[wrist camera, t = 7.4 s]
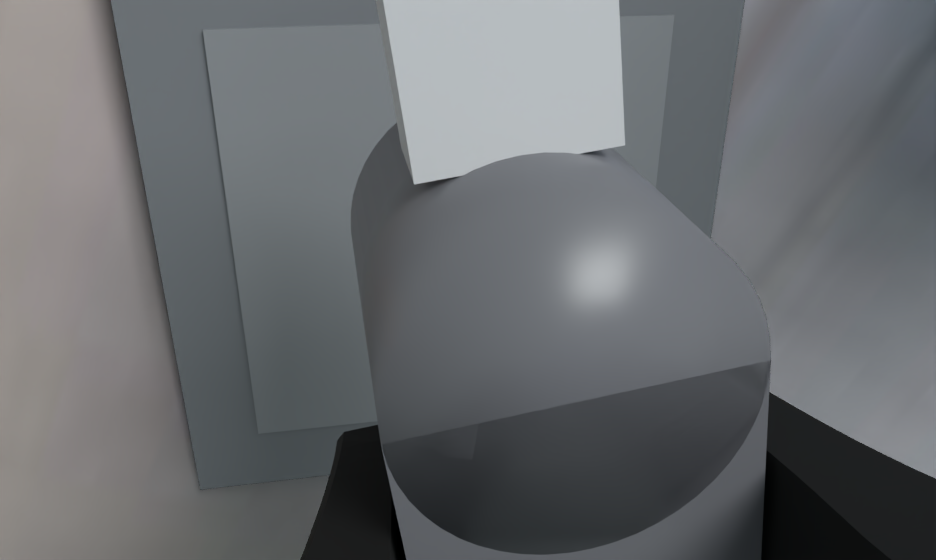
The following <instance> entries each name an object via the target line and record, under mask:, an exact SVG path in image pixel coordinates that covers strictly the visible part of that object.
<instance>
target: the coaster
mask: <svg viewBox="0 0 936 560" xmlns="http://www.w3.org/2000/svg"><path fill="white" fill-rule="evenodd" d="M744 2H745V0H619V12H620V36H621V59H622V83H623V107H624V131H625V145H624V146H619V147H613V149H614V150H615V151H616V152H618V153H619V154H620V155H621V156H622V157H623V158H624V159H625V160H626V161H627V162H628V163H629V164H630V165H632V166H633V167H634V168H635V169H636V170H637V171H638V172H639V173H640V174H641V175H642V176H643V177H644V178H645V179H647V180H648V181H649V182H650V183H651V184H652V185H653V186H654V187H655V188H656V189H657V190H658V191H659V192H661V193H662V194H663V195H664V196H665V197H666V198H667V199H668V200H669V201H670V202H671V203H672V204H673V205H674V206H676V207H677V208H678V209H679V210H680V211H681V212H682V213H683V214H684V215H685V216H686V217H687V218H688V219H690V220H691V221H692V222H693V223H694V224H695V225H696V226H697V227H698V228H699V229H700V230H701V231H702V232H703V233H705V234H706V235H707V236H708V237H709V238H710V239H711V232H712V225H713V218H714V211H715V204H716V197H717V190H718V183H719V176H720V169H721V162H722V155H723V148H724V141H725V134H726V127H727V120H728V113H729V106H730V99H731V92H732V86H733V79H734V72H735V65H736V58H737V51H738V44H739V37H740V30H741V23H742V16H743V9H744ZM111 5H112V10H113V16H114V21H115V27H116V32H117V38H118V43H119V48H120V54H121V59H122V65H123V70H124V76H125V81H126V87H127V92H128V98H129V103H130V109H131V114H132V120H133V125H134V130H135V136H136V141H137V147H138V152H139V158H140V163H141V169H142V174H143V180H144V185H145V191H146V196H147V201H148V207H149V212H150V218H151V223H152V229H153V234H154V240H155V245H156V251H157V256H158V262H159V267H160V272H161V278H162V283H163V289H164V294H165V300H166V305H167V311H168V316H169V322H170V327H171V333H172V338H173V343H174V349H175V354H176V360H177V365H178V371H179V376H180V382H181V387H182V393H183V398H184V404H185V409H186V414H187V420H188V425H189V431H190V436H191V442H192V447H193V453H194V458H195V464H196V469H197V475H198V480H199V485H200V490H203V489H212V488H221V487H229V486H238V485H247V484H255V483H264V482H273V481H281V480H290V479H299V478H308V477H316V476H325V475H330V472H331V469H332V465H333V460H334V456H335V451H336V444H337V440H338V439H339V437H340V436H341V435H342V434H343V432H346V431H350V430H355V429H360V428H364V427H369V426H374V425H378V421H377V414H376V407H375V399H374V392H373V385H372V378H371V371H370V364H369V357H368V350H367V342H366V335H365V328H364V321H363V314H362V307H361V300H360V293H359V285H358V278H357V271H356V264H355V257H354V250H353V243H352V235H351V206H352V200H353V194H354V190H355V187H356V184H357V180H358V177H359V175H360V173H361V171H362V168H363V166H364V164H365V162H366V160H367V158H368V157H369V155H370V154H371V152H372V150H373V149H374V147H375V146H376V144H377V143H378V142H379V141H380V140H381V138H382V137H383V136H384V135H385V133H386V132H387V131H388V130H389V129H390V128H391V127H392V126H393V125H395V124H396V123H397V120H396V115H395V109H394V103H393V97H392V91H391V86H390V80H389V74H388V68H387V62H386V57H385V51H384V45H383V39H382V33H381V28H380V22H379V16H378V10H377V4H376V0H111Z"/></svg>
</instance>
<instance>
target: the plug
mask: <svg viewBox="0 0 936 560" xmlns="http://www.w3.org/2000/svg"><path fill="white" fill-rule="evenodd" d="M376 4H377V10H378V16H379V22H380V28H381V33H382V39H383V45H384V51H385V57H386V62H387V68H388V74H389V80H390V86H391V91H392V97H393V103H394V109H395V115H396V120H397V123H396V124H395V125H393V126H392V127H391V128H390V129H389V130H388V131H387V132H386V133H385V135H384V136H383V137H382V138H381V140H380V141H379V142H378V143H377V144H376V146H375V147H374V149H373V150H372V152H371V154H370V155H369V157H368V158H367V160H366V162H365V164H364V166H363V168H362V171H361V173H360V175H359V177H358V180H357V184H356V187H355V190H354V194H353V200H352V206H351V235H352V243H353V250H354V257H355V264H356V271H357V278H358V285H359V293H360V300H361V307H362V314H363V321H364V328H365V335H366V342H367V350H368V357H369V364H370V371H371V378H372V385H373V392H374V399H375V407H376V414H377V421H378V428H379V435H380V442H381V447H382V452H383V456H384V461H385V465H386V470H387V474H388V479H389V483H390V488H391V492H392V497H393V501H394V506H395V510H396V515H397V519H398V524H399V528H400V533H401V537H402V542H403V546H404V551H405V555H406V560H761V551H762V531H763V510H764V489H765V469H766V448H767V427H768V407H769V386H770V365H771V351H770V335H769V330H768V324H767V319H766V316H765V313H764V310H763V307H762V304H761V302H760V299H759V297H758V295H757V293H756V291H755V289H754V288H753V286H752V284H751V282H750V280H749V279H748V277H747V276H746V275H745V274H744V273H743V271H742V270H741V269H740V268H739V266H738V265H737V264H736V263H735V261H734V260H732V259H731V258H730V257H729V256H728V255H727V254H726V253H725V252H724V251H723V250H722V249H721V248H720V247H719V246H717V245H716V244H715V243H714V242H713V241H712V240H711V239H710V238H709V237H708V236H707V235H706V234H705V233H703V232H702V231H701V230H700V229H699V228H698V227H697V226H696V225H695V224H694V223H693V222H692V221H691V220H690V219H688V218H687V217H686V216H685V215H684V214H683V213H682V212H681V211H680V210H679V209H678V208H677V207H676V206H674V205H673V204H672V203H671V202H670V201H669V200H668V199H667V198H666V197H665V196H664V195H663V194H662V193H661V192H659V191H658V190H657V189H656V188H655V187H654V186H653V185H652V184H651V183H650V182H649V181H648V180H647V179H645V178H644V177H643V176H642V175H641V174H640V173H639V172H638V171H637V170H636V169H635V168H634V167H633V166H632V165H630V164H629V163H628V162H627V161H626V160H625V159H624V158H623V157H622V156H621V155H620V154H619V153H618V152H616V151H615V150H614V149H613V147H619V146H624V145H625V131H624V107H623V83H622V59H621V36H620V12H619V0H376Z"/></svg>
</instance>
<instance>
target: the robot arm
mask: <svg viewBox="0 0 936 560" xmlns="http://www.w3.org/2000/svg"><path fill="white" fill-rule="evenodd" d="M300 560H406V555H405V551H404V546H403V542H402V537H401V533H400V528H399V524H398V519H397V515H396V510H395V506H394V501H393V497H392V492H391V488H390V483H389V479H388V474H387V470H386V465H385V461H384V456H383V452H382V447H381V442H380V435H379V428H378V425H374V426H369V427H364V428H360V429H355V430H350V431H346V432H343V434H342V435H341V436H340V437H339V439H338V440H337V444H336V451H335V456H334V460H333V465H332V469H331V472H330V476H329V480H328V483H327V486H326V490H325V493H324V496H323V499H322V503H321V506H320V509H319V511H318V514H317V517H316V520H315V522H314V525H313V528H312V530H311V533H310V536H309V539H308V541H307V544H306V547H305V549H304V552H303V554H302V557H301V559H300ZM761 560H936V479H935V478H933V477H931V476H928V475H926V474H924V473H922V472H919V471H917V470H915V469H913V468H911V467H909V466H906V465H904V464H902V463H900V462H898V461H896V460H894V459H892V458H890V457H888V456H886V455H884V454H882V453H880V452H878V451H876V450H874V449H872V448H870V447H868V446H866V445H864V444H862V443H860V442H858V441H856V440H854V439H852V438H850V437H848V436H847V435H845V434H843V433H841V432H839V431H837V430H835V429H833V428H832V427H830V426H828V425H826V424H824V423H822V422H821V421H819V420H817V419H815V418H813V417H812V416H810V415H808V414H806V413H805V412H803V411H801V410H799V409H798V408H796V407H794V406H792V405H791V404H789V403H787V402H785V401H784V400H782V399H780V398H779V397H777V396H775V395H773V394H772V393H770V392H769V407H768V427H767V448H766V469H765V489H764V510H763V531H762V551H761Z"/></svg>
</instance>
